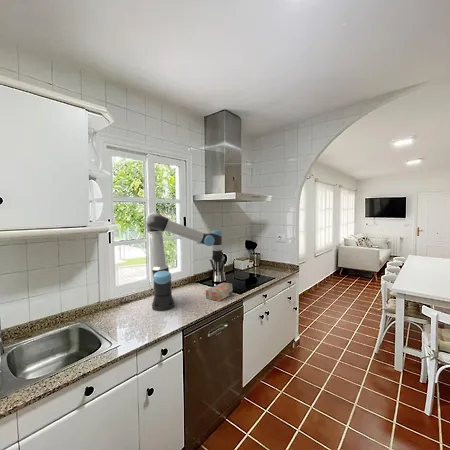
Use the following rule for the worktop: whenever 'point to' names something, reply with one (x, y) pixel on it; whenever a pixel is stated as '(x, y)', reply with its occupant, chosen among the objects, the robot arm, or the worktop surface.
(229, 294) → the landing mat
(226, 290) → the stack of blocks
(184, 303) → the worktop surface
